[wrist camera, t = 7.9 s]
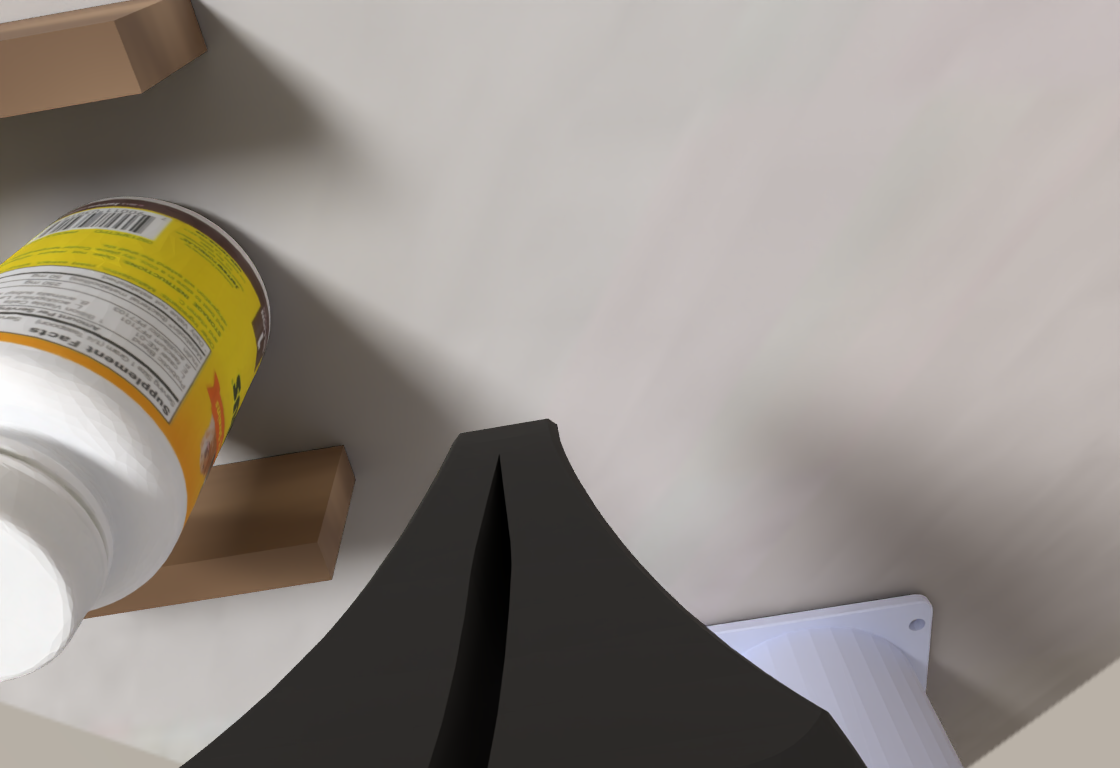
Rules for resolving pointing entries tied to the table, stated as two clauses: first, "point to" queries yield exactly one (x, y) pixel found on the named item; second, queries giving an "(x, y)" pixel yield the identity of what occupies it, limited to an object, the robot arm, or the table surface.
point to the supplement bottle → (112, 405)
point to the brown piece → (230, 490)
